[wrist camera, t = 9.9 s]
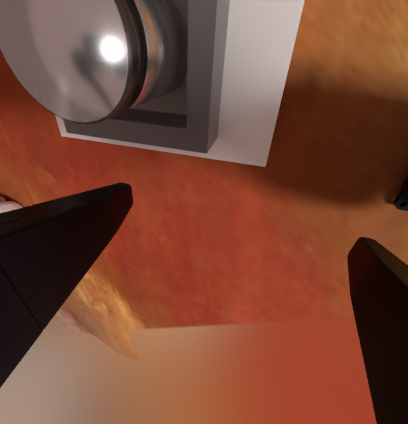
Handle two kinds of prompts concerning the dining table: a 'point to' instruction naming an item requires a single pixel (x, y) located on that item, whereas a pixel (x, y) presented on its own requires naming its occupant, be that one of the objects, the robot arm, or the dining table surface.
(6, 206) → the water bottle
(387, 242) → the dining table surface
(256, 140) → the tray on white base
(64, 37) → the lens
